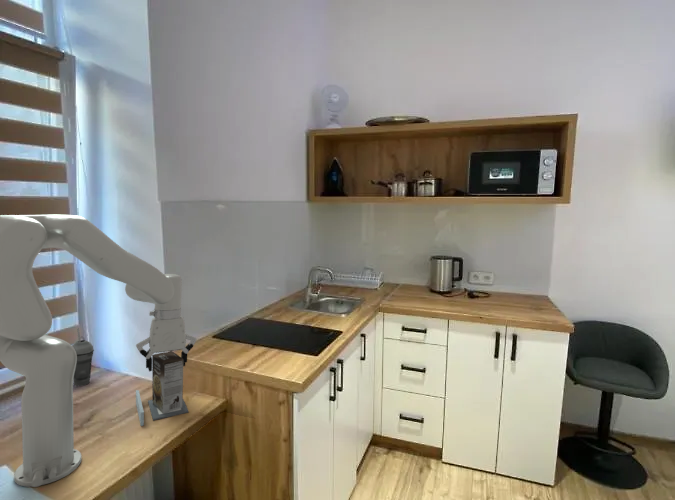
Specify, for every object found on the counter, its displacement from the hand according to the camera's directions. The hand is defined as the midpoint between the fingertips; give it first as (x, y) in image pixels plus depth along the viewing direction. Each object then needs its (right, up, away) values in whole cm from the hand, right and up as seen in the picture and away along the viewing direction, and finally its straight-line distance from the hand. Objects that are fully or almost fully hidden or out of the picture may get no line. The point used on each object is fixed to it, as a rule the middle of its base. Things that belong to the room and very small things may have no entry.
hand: (166, 367), depth 117 cm
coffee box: (0, -13, +1) cm, 13 cm away
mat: (0, -13, +1) cm, 13 cm away
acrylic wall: (-7, -13, -3) cm, 15 cm away
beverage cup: (-37, -11, +15) cm, 42 cm away
